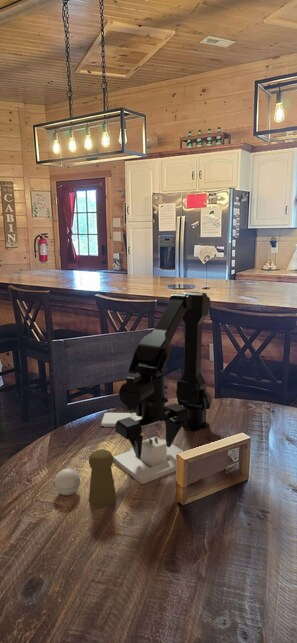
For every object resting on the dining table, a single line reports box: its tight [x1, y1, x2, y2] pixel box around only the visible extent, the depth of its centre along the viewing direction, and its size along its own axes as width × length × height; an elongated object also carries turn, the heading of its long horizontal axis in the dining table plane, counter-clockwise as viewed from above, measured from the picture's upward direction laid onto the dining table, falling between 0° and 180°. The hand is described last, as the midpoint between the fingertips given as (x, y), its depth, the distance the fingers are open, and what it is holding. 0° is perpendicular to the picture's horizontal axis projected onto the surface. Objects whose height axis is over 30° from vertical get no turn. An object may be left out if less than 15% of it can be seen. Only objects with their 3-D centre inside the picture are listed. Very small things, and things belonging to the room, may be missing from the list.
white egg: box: [53, 468, 81, 496], centre depth 98 cm, size 8×6×6 cm
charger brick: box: [141, 436, 167, 467], centre depth 111 cm, size 5×5×6 cm
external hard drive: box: [100, 412, 142, 428], centre depth 136 cm, size 2×8×12 cm
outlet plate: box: [113, 438, 184, 485], centre depth 112 cm, size 16×13×1 cm
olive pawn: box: [88, 448, 117, 508], centre depth 96 cm, size 6×6×11 cm
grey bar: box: [112, 447, 134, 457], centre depth 114 cm, size 9×2×1 cm, turn 125°
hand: (153, 452), depth 111 cm, fingers open, 9 cm apart
